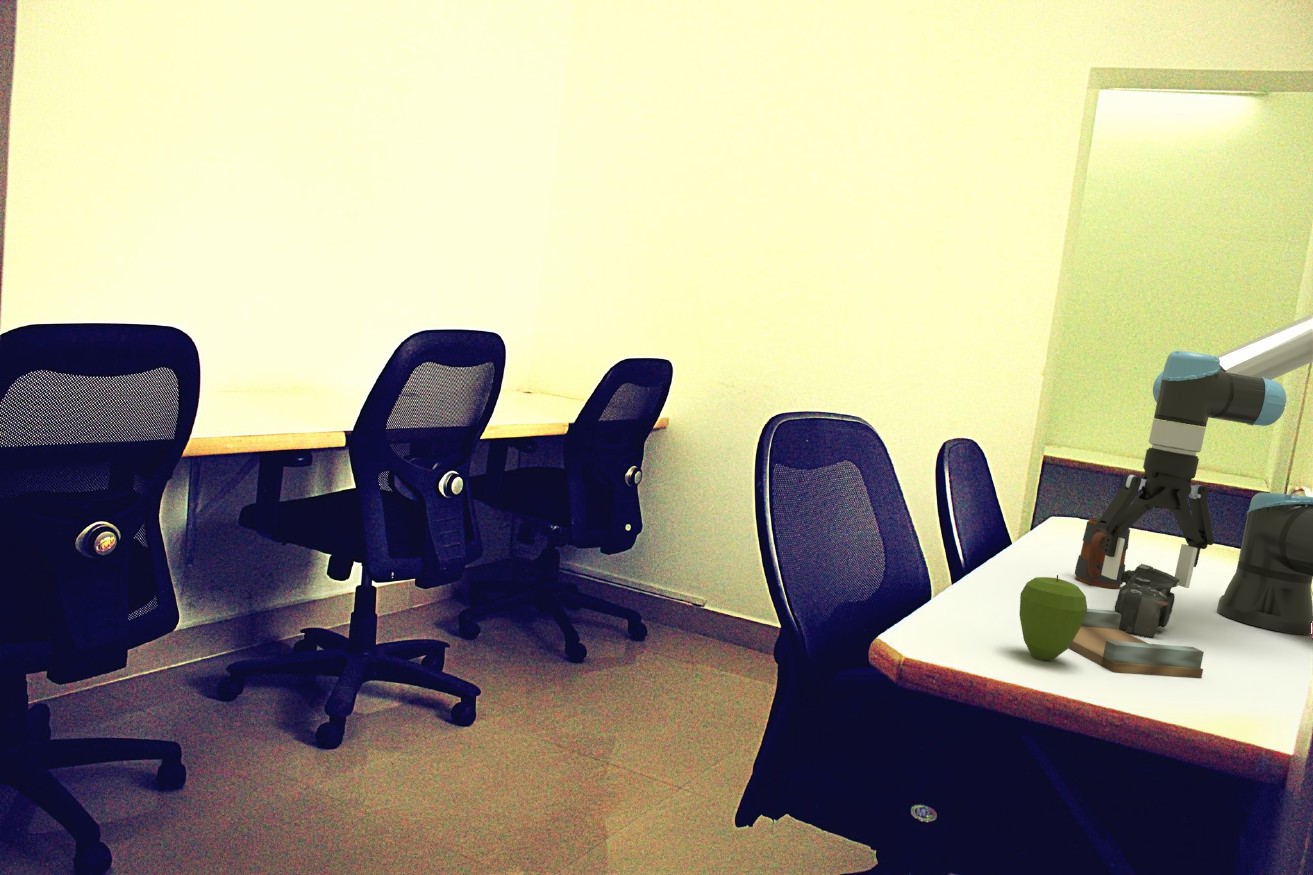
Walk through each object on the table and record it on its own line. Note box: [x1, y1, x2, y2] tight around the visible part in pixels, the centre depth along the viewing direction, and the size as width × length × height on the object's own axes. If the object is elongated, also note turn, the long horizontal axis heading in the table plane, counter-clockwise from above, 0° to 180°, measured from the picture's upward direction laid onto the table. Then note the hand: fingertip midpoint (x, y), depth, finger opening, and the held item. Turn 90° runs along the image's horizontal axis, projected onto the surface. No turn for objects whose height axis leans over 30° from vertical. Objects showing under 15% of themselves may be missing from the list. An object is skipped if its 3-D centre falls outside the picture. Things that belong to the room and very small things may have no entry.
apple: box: [1019, 574, 1088, 661], centre depth 141 cm, size 9×8×12 cm
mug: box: [1074, 518, 1131, 589], centre depth 201 cm, size 9×12×12 cm
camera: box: [1113, 563, 1180, 639], centre depth 169 cm, size 13×10×10 cm
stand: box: [1068, 607, 1205, 679], centre depth 151 cm, size 14×20×4 cm
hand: (1145, 581), depth 168 cm, fingers open, 13 cm apart
